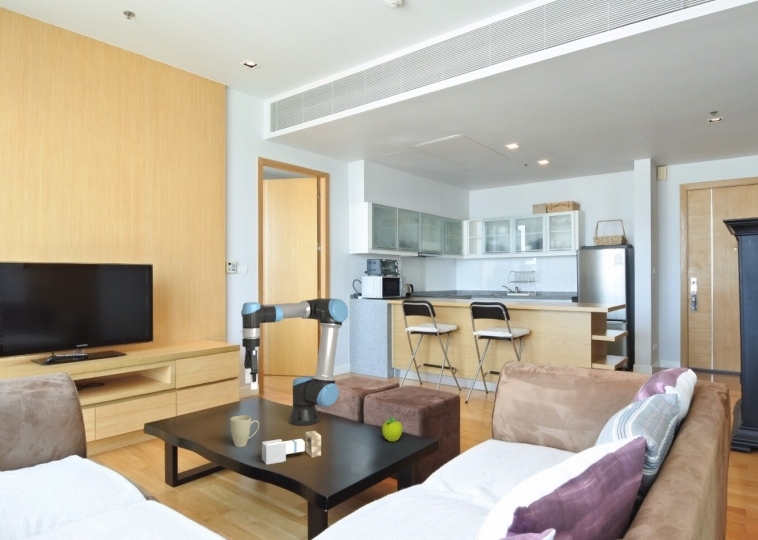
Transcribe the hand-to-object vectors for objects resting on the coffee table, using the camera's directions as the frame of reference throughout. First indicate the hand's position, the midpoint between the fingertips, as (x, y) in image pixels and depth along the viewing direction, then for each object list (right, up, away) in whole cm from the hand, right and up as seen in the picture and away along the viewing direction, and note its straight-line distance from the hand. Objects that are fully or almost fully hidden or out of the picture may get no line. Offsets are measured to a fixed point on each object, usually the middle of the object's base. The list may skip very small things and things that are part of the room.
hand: (250, 386), depth 214 cm
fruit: (+62, -28, +10) cm, 69 cm away
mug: (-5, -27, +4) cm, 28 cm away
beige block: (+28, -27, -7) cm, 40 cm away
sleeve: (+13, -27, -15) cm, 33 cm away
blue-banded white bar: (+18, -25, -13) cm, 33 cm away
